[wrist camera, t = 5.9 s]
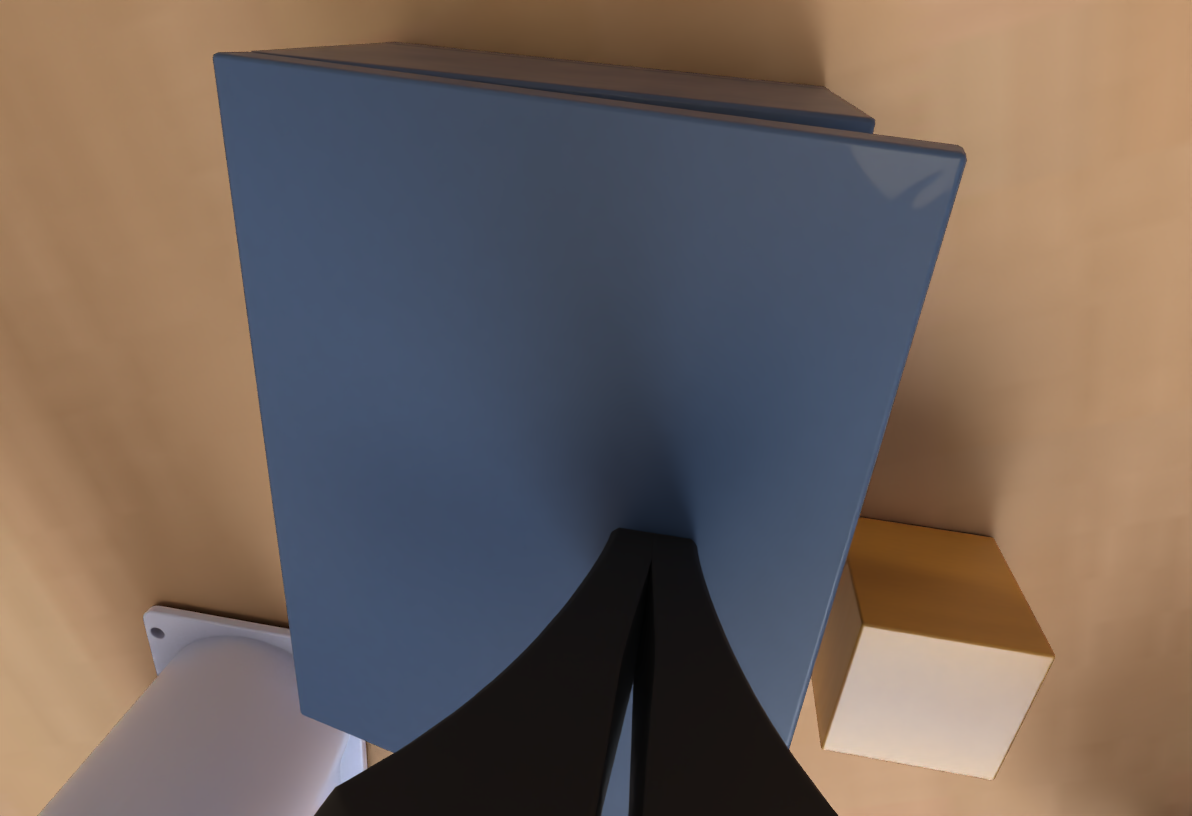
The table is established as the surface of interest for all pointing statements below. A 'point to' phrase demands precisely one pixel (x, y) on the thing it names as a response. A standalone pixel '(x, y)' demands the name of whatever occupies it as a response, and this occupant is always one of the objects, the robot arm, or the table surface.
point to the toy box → (605, 82)
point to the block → (927, 652)
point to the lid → (558, 365)
